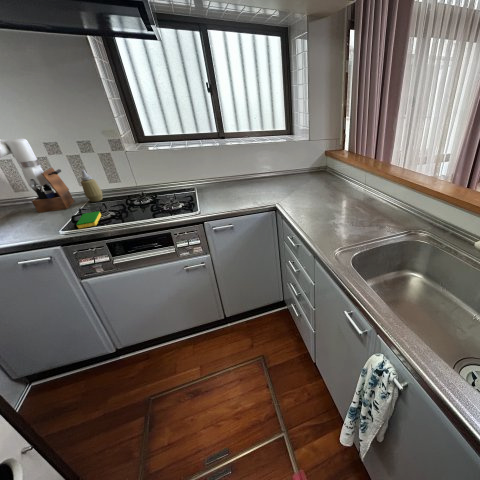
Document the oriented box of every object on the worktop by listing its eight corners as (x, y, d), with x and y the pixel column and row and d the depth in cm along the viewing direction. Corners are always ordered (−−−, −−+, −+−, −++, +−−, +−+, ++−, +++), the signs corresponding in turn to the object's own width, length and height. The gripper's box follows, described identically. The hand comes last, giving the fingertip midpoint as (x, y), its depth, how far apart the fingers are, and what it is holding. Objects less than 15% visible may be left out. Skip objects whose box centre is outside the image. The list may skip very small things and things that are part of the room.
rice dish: (37, 200, 143) (34, 195, 141) (43, 196, 148) (40, 191, 147) (53, 199, 145) (50, 193, 144) (58, 194, 151) (55, 189, 149)
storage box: (38, 212, 144) (31, 200, 140) (47, 205, 153) (41, 193, 149) (66, 208, 148) (60, 197, 144) (74, 201, 157) (68, 190, 153)
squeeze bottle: (103, 196, 163) (90, 167, 154) (106, 200, 158) (92, 170, 149) (87, 200, 159) (73, 170, 150) (89, 203, 153) (74, 173, 144)
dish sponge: (101, 215, 140) (99, 210, 138) (96, 225, 129) (94, 221, 128) (84, 217, 137) (82, 213, 136) (78, 229, 126) (75, 224, 125)
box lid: (40, 173, 136) (51, 170, 138) (50, 167, 146) (60, 165, 147) (59, 196, 144) (69, 194, 145) (67, 190, 153) (77, 187, 154)
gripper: (28, 161, 143) (46, 192, 152) (10, 169, 129) (30, 203, 138) (46, 159, 146) (62, 190, 155) (30, 167, 132) (48, 201, 141)
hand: (47, 196), depth 146 cm, fingers closed on rice dish, 7 cm apart
